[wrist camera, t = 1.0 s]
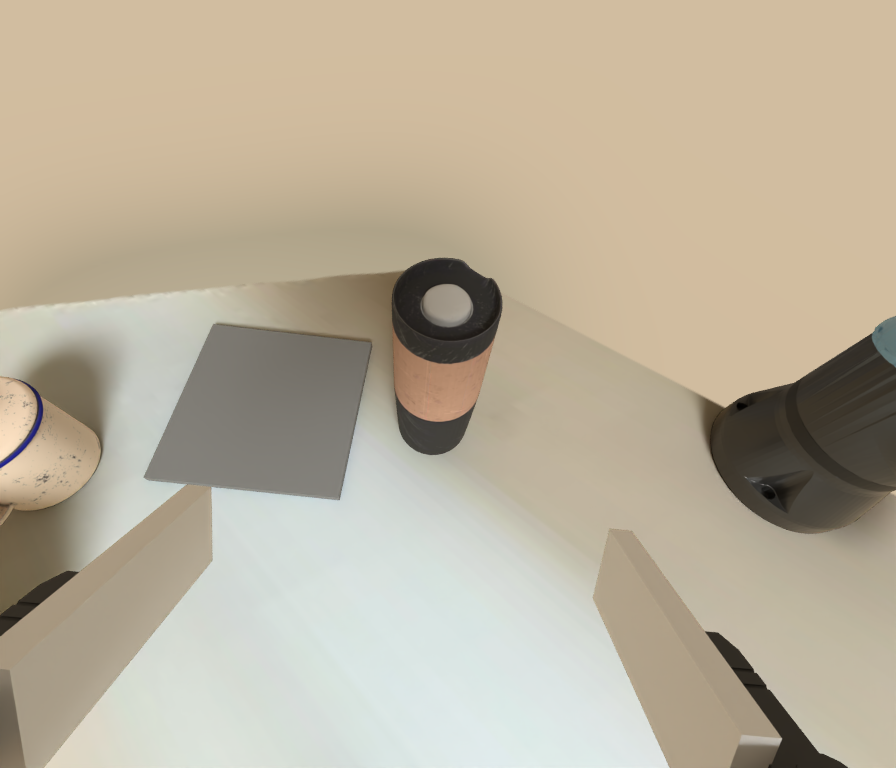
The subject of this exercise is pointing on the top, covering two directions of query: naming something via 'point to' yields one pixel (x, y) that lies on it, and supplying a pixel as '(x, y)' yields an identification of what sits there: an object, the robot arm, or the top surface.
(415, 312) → the travel mug
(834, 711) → the top surface
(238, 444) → the pad
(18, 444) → the teacup with lid
